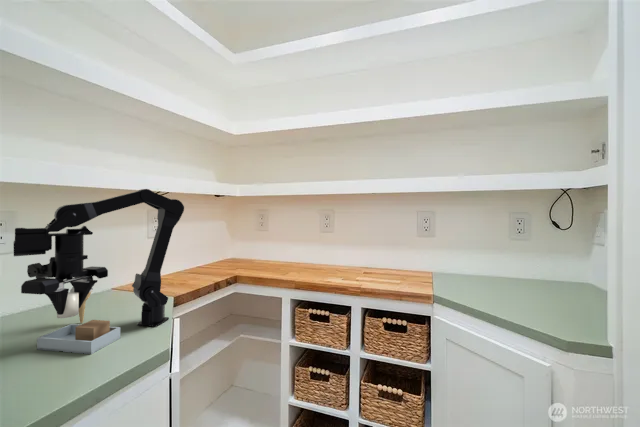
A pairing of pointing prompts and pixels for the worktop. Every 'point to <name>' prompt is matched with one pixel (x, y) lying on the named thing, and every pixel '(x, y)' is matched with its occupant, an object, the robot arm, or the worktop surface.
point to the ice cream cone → (82, 308)
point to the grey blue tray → (67, 343)
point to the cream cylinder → (71, 305)
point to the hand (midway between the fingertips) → (69, 311)
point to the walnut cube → (92, 330)
